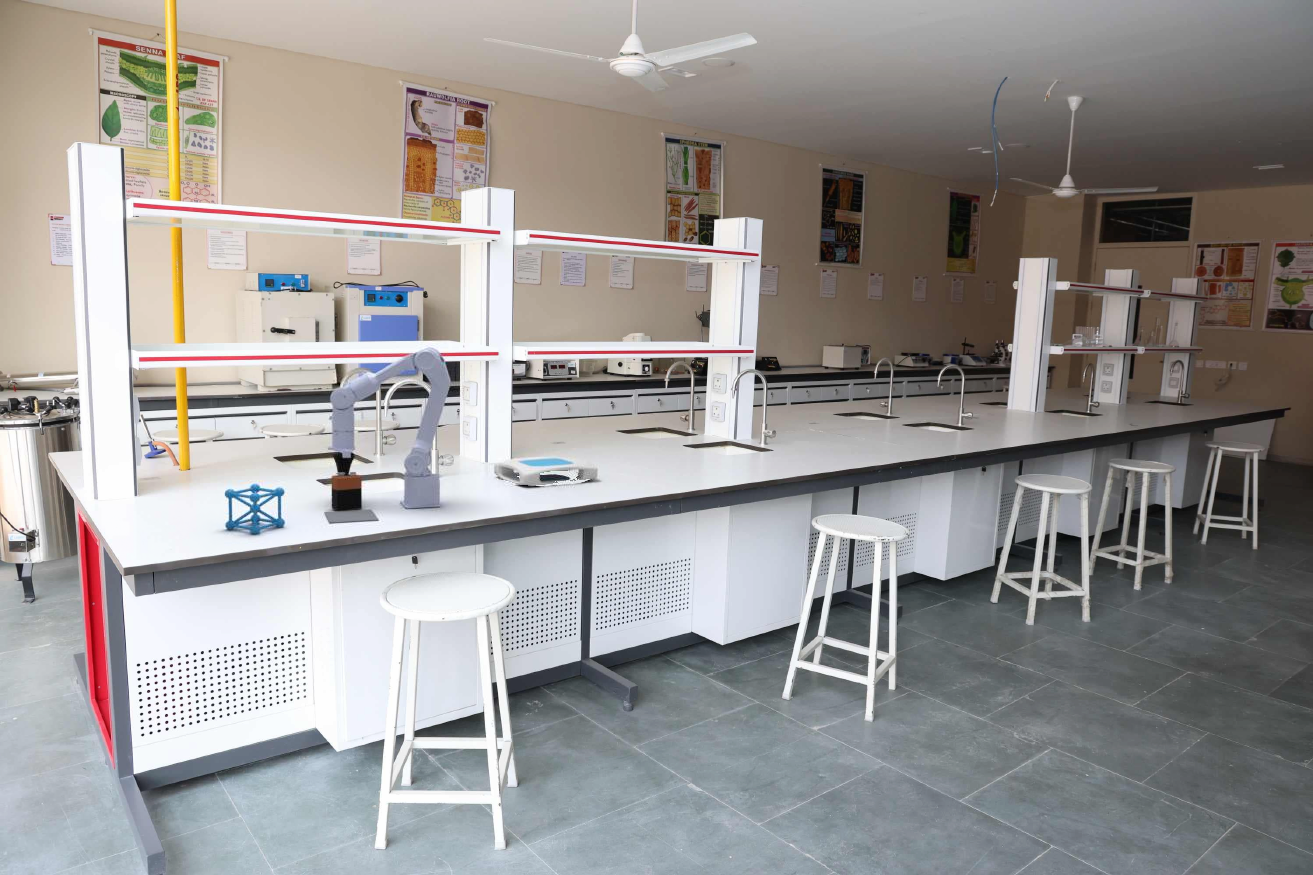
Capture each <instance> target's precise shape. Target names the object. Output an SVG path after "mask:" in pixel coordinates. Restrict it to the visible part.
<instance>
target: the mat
mask: <svg viewBox="0 0 1313 875" xmlns="http://www.w3.org/2000/svg"><path fill="white" fill-rule="evenodd" d="M323 514H324V516H325V517H326V520H327V521H328V524H343V523H360V522H362V523H363V522H375V521H376V522H378V521H379V518H378V516H377V515H376V513H375V512H374V511H373V510H372V509H354V510H344V511H337V510H334V511H323Z"/></svg>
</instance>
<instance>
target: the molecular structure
mask: <svg viewBox="0 0 1313 875" xmlns="http://www.w3.org/2000/svg"><path fill="white" fill-rule="evenodd" d="M248 492H251V494H243V493H248ZM259 492H266V493H263V494H259ZM284 495H285V489H284V488H282V487H279V486H278V487H276V488H275V489H270V488H263V487H261V486H260V485H259V484H258V483H253V484H251V485H250V487H249V488H248V487H247V488H244V489H240V490H239V489H238V490H236V491H235V490H234V489H233V488H229V489H226V490H225V492H224V496H225V498H226V499H228V520H227V521H226V523H225V525H224V526H225V528H226V529H227V530H228V531H233V530H235V529H242V530H249V532H250V533H251V534H253V535H258V534H259V533H260V532H261V530H263V529H268V528H271V527H274V526H275V527H276V528H283V527H284V526H285V524H286V522H285V519H284V518H283V517H282V497H283V496H284ZM266 497H268V498H266ZM276 497H277V518H276V517H274V516H272V515H271V514H268V513H266V512H265V511H263V510H262V509H261V507H262V506H263V505H265V504H267V503H268V502H270V501H272V500H273V499H274V498H276ZM243 498H245V499H249V501H250V502H251V503H250V502H248V501H246V500H245V499H243ZM262 498H265V500H263V501H261V502H260V500H261V499H262ZM233 499H235V500H237V501H238V502H240V503H242V504H244V505H245V506H247V507H249V510H248V511H246V512H245V513H244V514H242V515H241V516H239V517H238V518H236V519H235V520H233ZM259 502H260V503H259ZM252 503H253V504H252ZM258 503H259V504H258ZM258 513H259V514H261V515H262V516H264V517H266V518H268V519H266V518H262V517H261V515H259V514H258ZM250 514H251V516H250V518H246V517H247V516H249V515H250ZM245 518H246V519H245ZM243 519H244V520H243ZM250 522H251V523H252V525H251V526H247V525H244V524H247V523H250ZM260 522H265V523H268V524H265V525H264V524H263V525H259V523H260Z"/></svg>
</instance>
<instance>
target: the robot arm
mask: <svg viewBox="0 0 1313 875" xmlns="http://www.w3.org/2000/svg"><path fill="white" fill-rule="evenodd" d="M416 370H419V372H421V373H422V374H423V375H425V376H426V378H427V379H428V381H429V383H430V384H431V389H430V391H429V395H428V398H427V401H426V405H425V407H424V411H423V414H422V417H421V421H420V424H419V428H418V431H417V434H416V437H415V440H414V443H413V445H412V448H411V451H410V453H408V455H407V456H406V457H405V459H404V462H403V465H404V468H405V470H406V471H404V478H403V479H404V481H403V482H404V483H403V484H404V488H403V491H404V496H403V499H404V500H400V504H401V505H402V506H403V507H404V509H420V508H437V507H441V502H440V500H441V498H440V497H441V493H440V492H441V488H440V487H441V480H440V476H439V474H438V473H432V471H431V469H430V468H429V467H430V465H431V463H432V455H431V454H432V453H431V452H432V451H431V450H432V447H433V442H434V439H435V435H436V432H437V430H438V426H439V424H440V423H439V422H440V420H441V416H442V413H443V410H444V407H445V403H446V401H447V397H448V393H449V390H450V387H451V377H450V375H449V371H448V368H447V364H446V360H445V358H444V357H443V355H442V354H441V352H440V351H439V349H436V348H434V347H426V348H423V349H420V350H419V351H416V352H414V353H410V354H407V355H404V356H403V357H401V358H399V359H397V360H396V361H394V362H392V363H391V364H389V365H387V366H386V367H384V368H382V369H381V370H379V371H377V372H376V373H373V372H369V371H367V372H364V371H363V372H360V373H359V374H358V376H357V377H355V378H354V379H352V380H351V381H349V382H348V381H346V382H344V383H343V386H342V387H337V388H335V389H334V390H333V391H332V392H331V394H330V398H329V400H330V403H331V405H332V415H331V417H332V418H331V423H332V424H331V426H332V427H331V437H332V438H331V440H332V441H331V442H332V443H331V444H332V445H331V446H327V450H328V451H334V452H337V453H332V454H331V456H332V457H333V461H334V462H335V467H336V471H337V472H336V473H338V472H344V473H345V474H343V475H348V474H350V472H351V466H352V464H353V461H354V460H355V457H356V455H355V453H354V451H355V450H356V446H355V410H354V409H355V407H354V406H355V403H356V402H361V401H362V400H364V399H365V398H368V397H370V396H371V395H373V394H375V393H376V392H378V391H380V388H381V385H382V383H384V382H386V381H388V380H390V379H392V378H393V377H395V376H398V375H400V374H402V373H404V372H406V371H416Z"/></svg>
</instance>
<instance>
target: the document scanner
mask: <svg viewBox="0 0 1313 875" xmlns="http://www.w3.org/2000/svg"><path fill="white" fill-rule="evenodd" d="M493 465H494V466H493V467H494V470H493V474H494V475H496V476H497V478H499V479H500V480H502V479H503V480H505V481H509V482H512V483H515V484H517V485H516V486H518V485H528V486H527V487H533V486H536V485H546V484H553V483H558V482H557V481H564V479H558V480H557V479H555V480H554V479H553V480H541V479H540V477H541V476H540V473H544V472H550V471H568V470H569V471H570V470H571V471H573V470H574V471H575V470H578V472H577V473H578V476H577V477H576V478H577V480H578V479H579V480H586V479H592V480H594V479H593V478H595V479H597V478H598V470H599V469H598V468H597V467H596V466H595V465H593V464H592V463H591V462H589V461H587V460H583V459H580V458H577V457H571V456H568V457H567V456H553V455H548V456H547V455H546V456H545V455H543V456H533V457H532V456H531V457H530V456H529V457H516V458H515V457H514V458H511V459H508V460H504V461H501V462H497V463H495V464H493ZM515 471H516V472H515ZM517 476H520V478H519V477H517ZM503 480H502V481H503ZM573 480H574V481H576V480H575V479H573ZM573 480H570V481H573ZM505 481H504V482H505ZM555 481H556V482H555ZM565 481H566V480H565Z"/></svg>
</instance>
